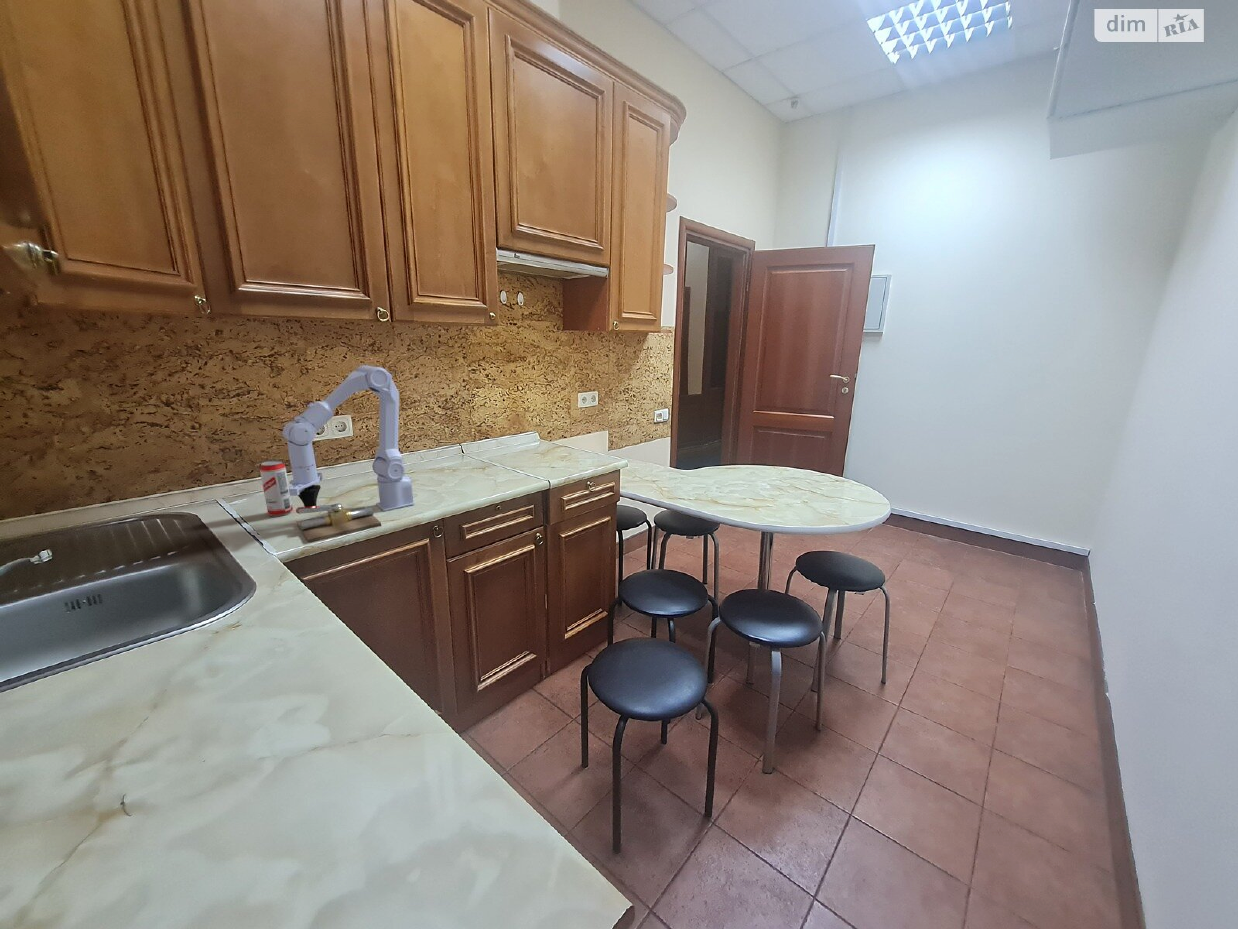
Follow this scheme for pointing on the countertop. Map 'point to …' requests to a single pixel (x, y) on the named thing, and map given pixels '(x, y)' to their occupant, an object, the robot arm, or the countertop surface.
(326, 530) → the walnut board
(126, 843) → the countertop surface
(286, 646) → the countertop surface
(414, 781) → the countertop surface
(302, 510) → the valve lever
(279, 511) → the beer can
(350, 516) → the valve body
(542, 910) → the countertop surface
